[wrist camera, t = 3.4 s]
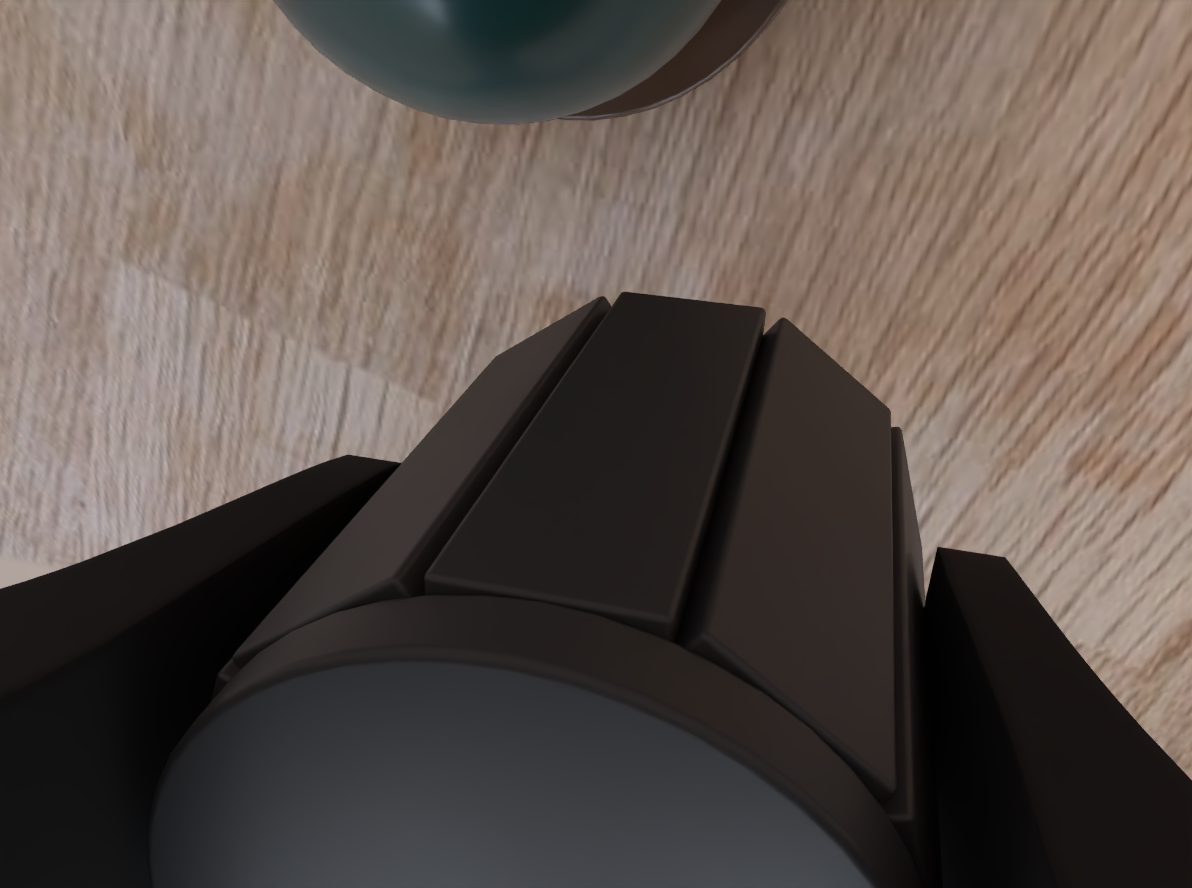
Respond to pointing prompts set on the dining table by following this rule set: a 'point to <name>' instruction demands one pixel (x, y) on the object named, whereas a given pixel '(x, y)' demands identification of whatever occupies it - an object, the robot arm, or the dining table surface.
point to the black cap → (593, 640)
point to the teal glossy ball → (531, 52)
